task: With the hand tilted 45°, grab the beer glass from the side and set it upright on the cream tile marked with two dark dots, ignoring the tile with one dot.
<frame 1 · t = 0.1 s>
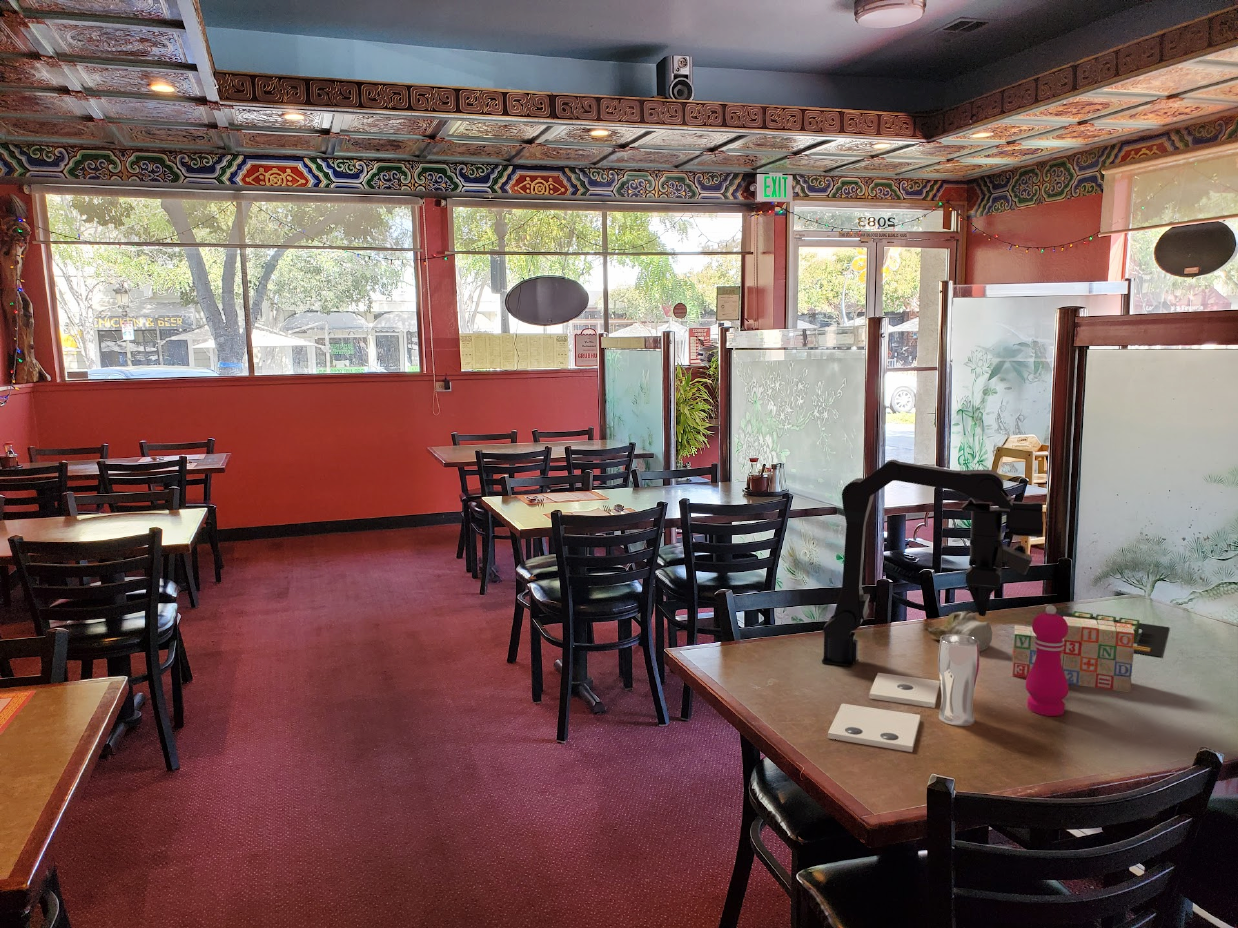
hand: (983, 609, 179), 15 cm above the table, fingers open, 9 cm apart
two-dot tile: (874, 728, 158), on the table
one-dot tile: (904, 691, 175), on the table
beer glass: (956, 720, 162), on the table
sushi: (1103, 636, 210), on the table
pepper mill: (1045, 710, 166), on the table
ceramic sculpture: (963, 645, 203), on the table
stack of blocks: (1069, 680, 181), on the table
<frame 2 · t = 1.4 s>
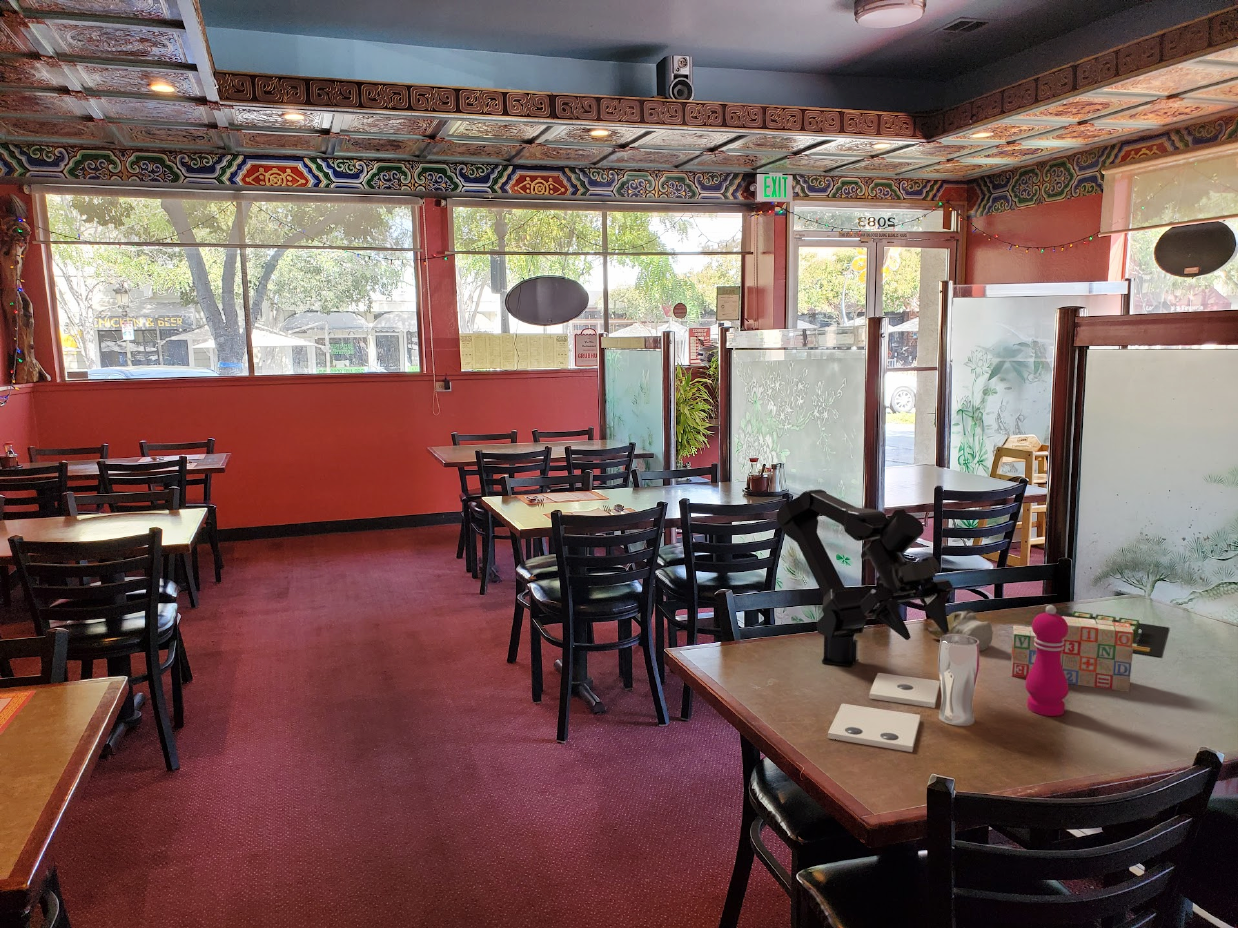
hand: (928, 635, 167), 13 cm above the table, fingers open, 9 cm apart
nothing on the table moved.
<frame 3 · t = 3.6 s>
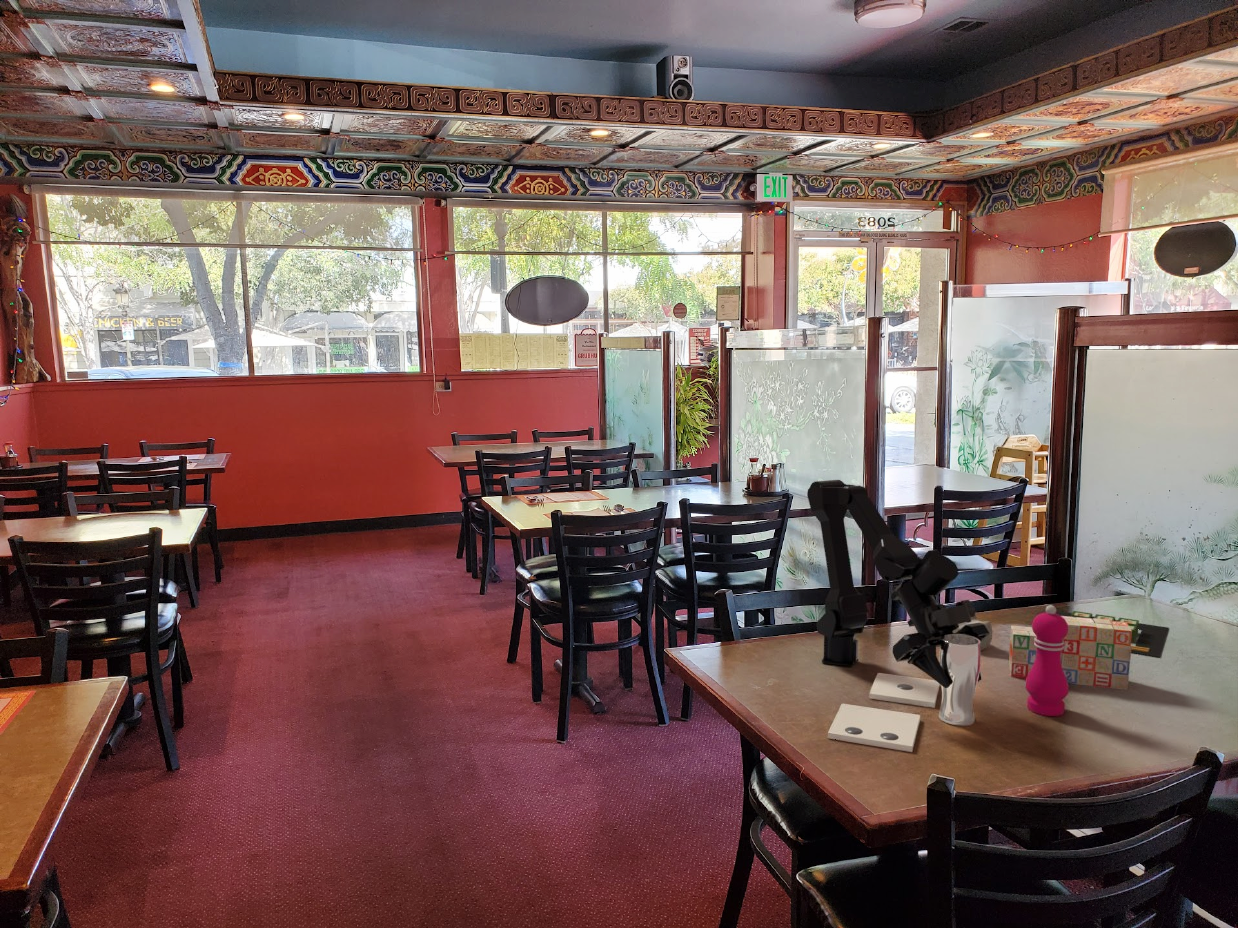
hand: (963, 683, 160), 7 cm above the table, fingers closed on beer glass, 7 cm apart
beer glass: (956, 719, 162), on the table, touching gripper
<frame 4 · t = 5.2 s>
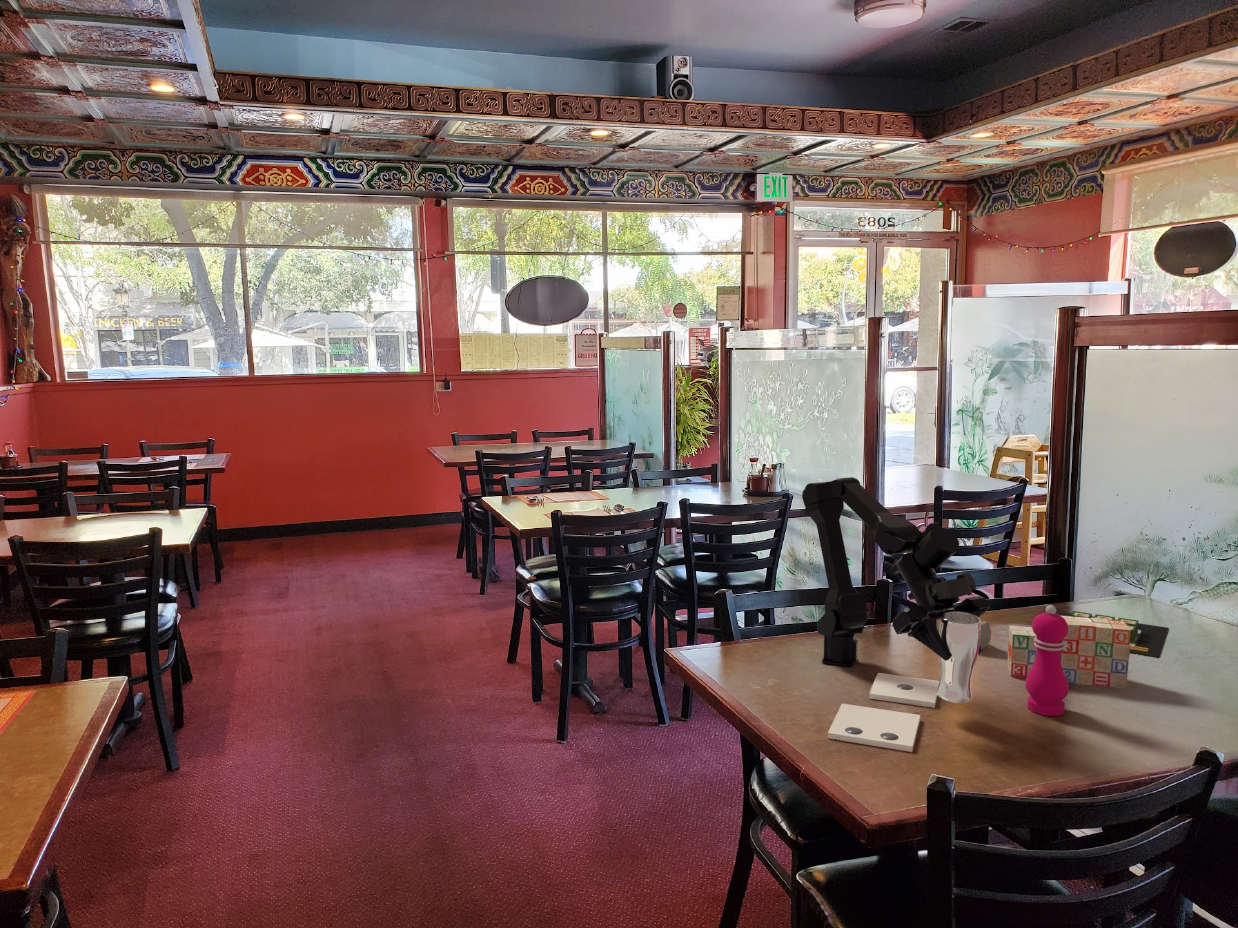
hand: (963, 656, 159), 12 cm above the table, fingers closed on beer glass, 7 cm apart
beer glass: (953, 696, 162), point 4 cm above the table, touching gripper
when the fingers open (9 cm above the table, at t = 7.5 s): beer glass stays where it is, resting on two-dot tile.
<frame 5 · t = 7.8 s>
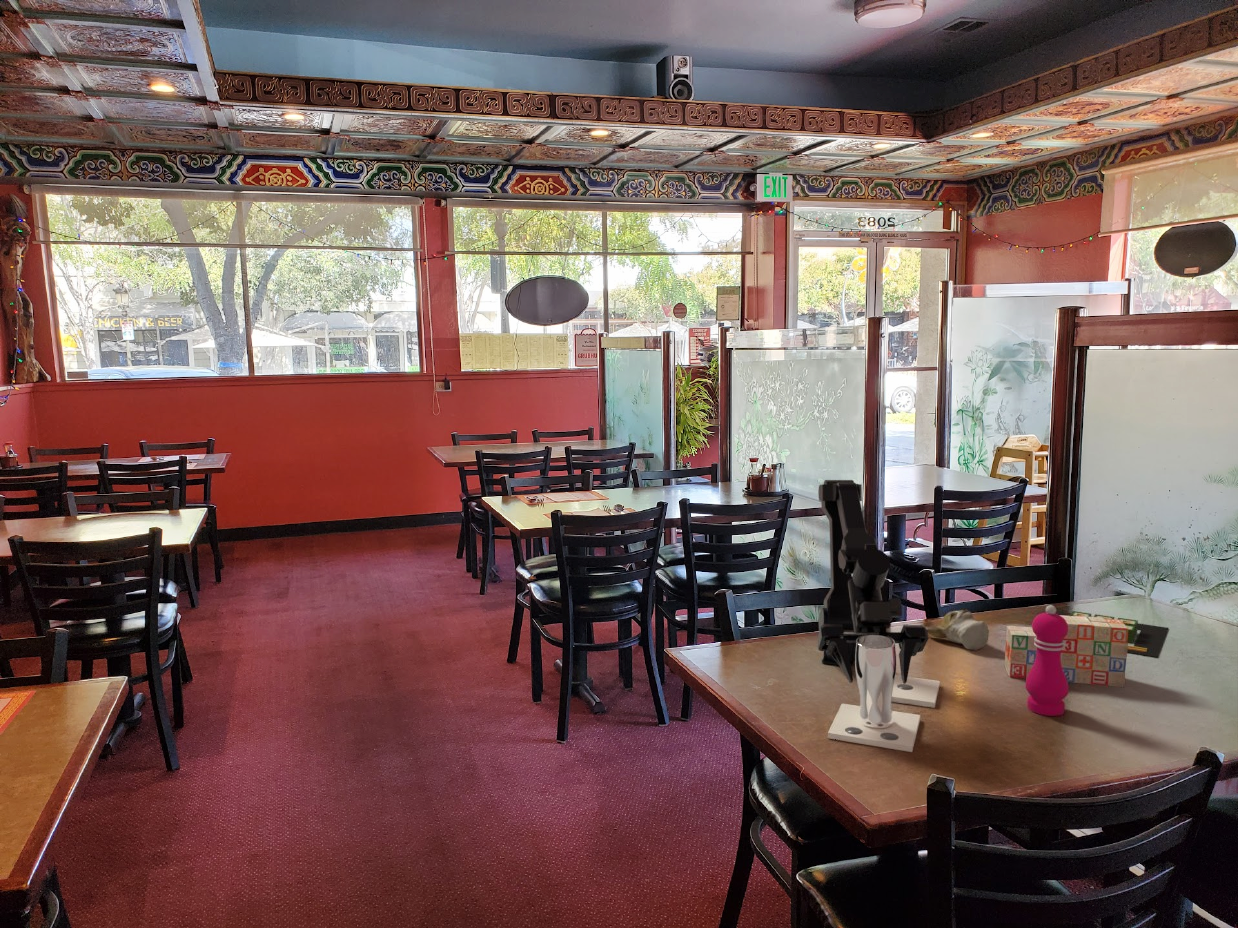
hand: (878, 682, 155), 9 cm above the table, fingers open, 9 cm apart
beer glass: (875, 721, 158), point 1 cm above the table, touching two-dot tile
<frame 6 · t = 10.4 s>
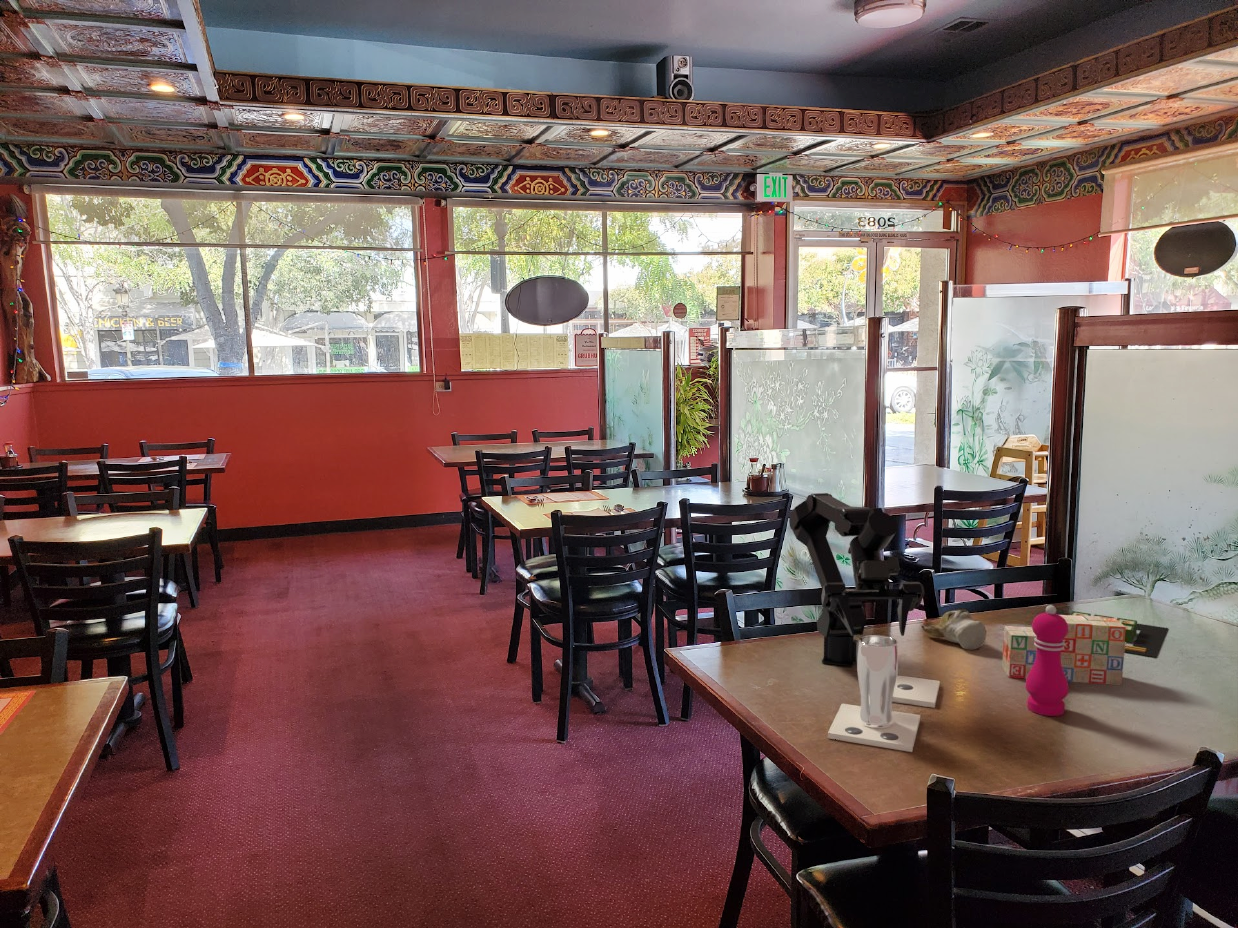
hand: (878, 634, 168), 13 cm above the table, fingers open, 9 cm apart
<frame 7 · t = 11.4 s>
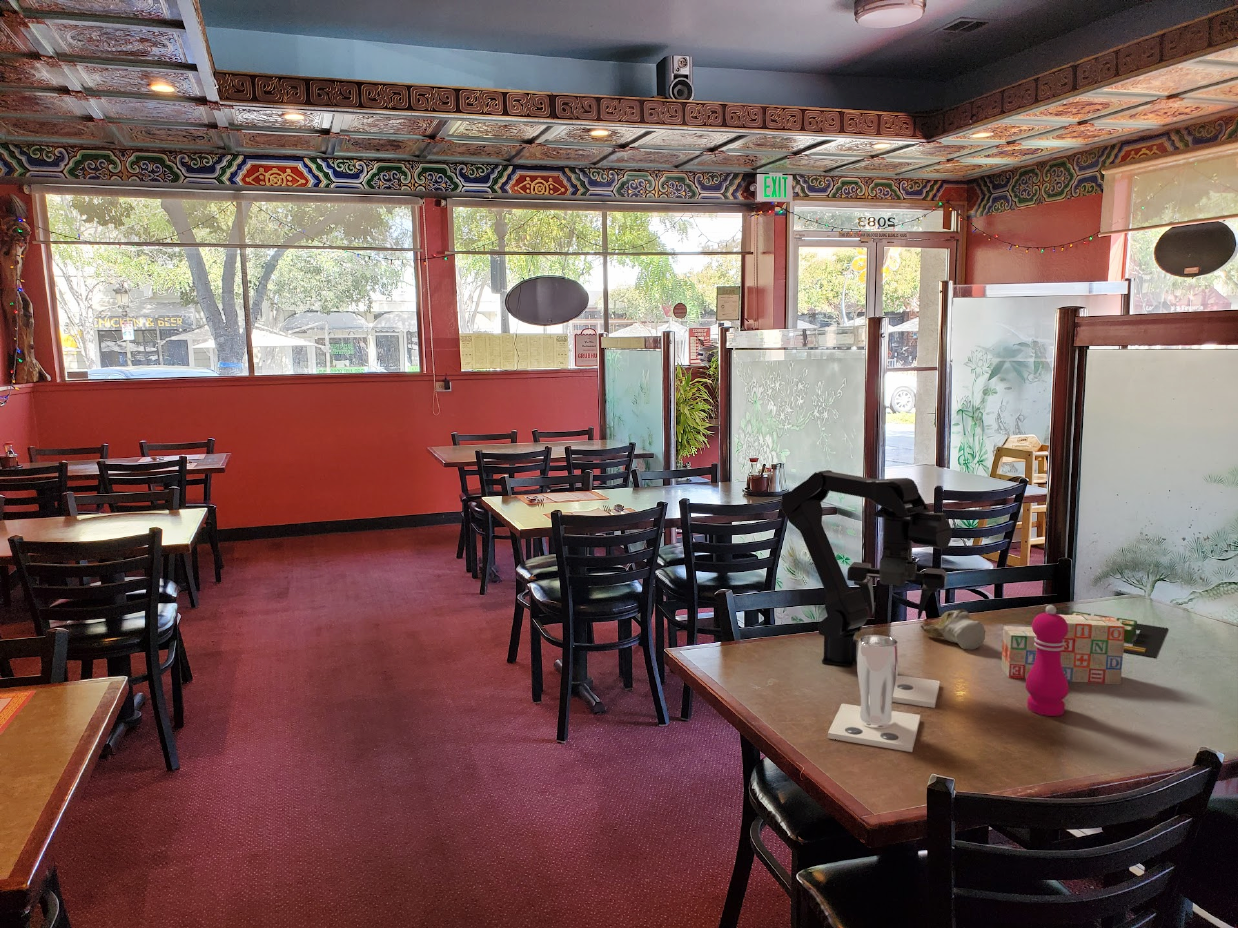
hand: (895, 616, 181), 13 cm above the table, fingers open, 9 cm apart
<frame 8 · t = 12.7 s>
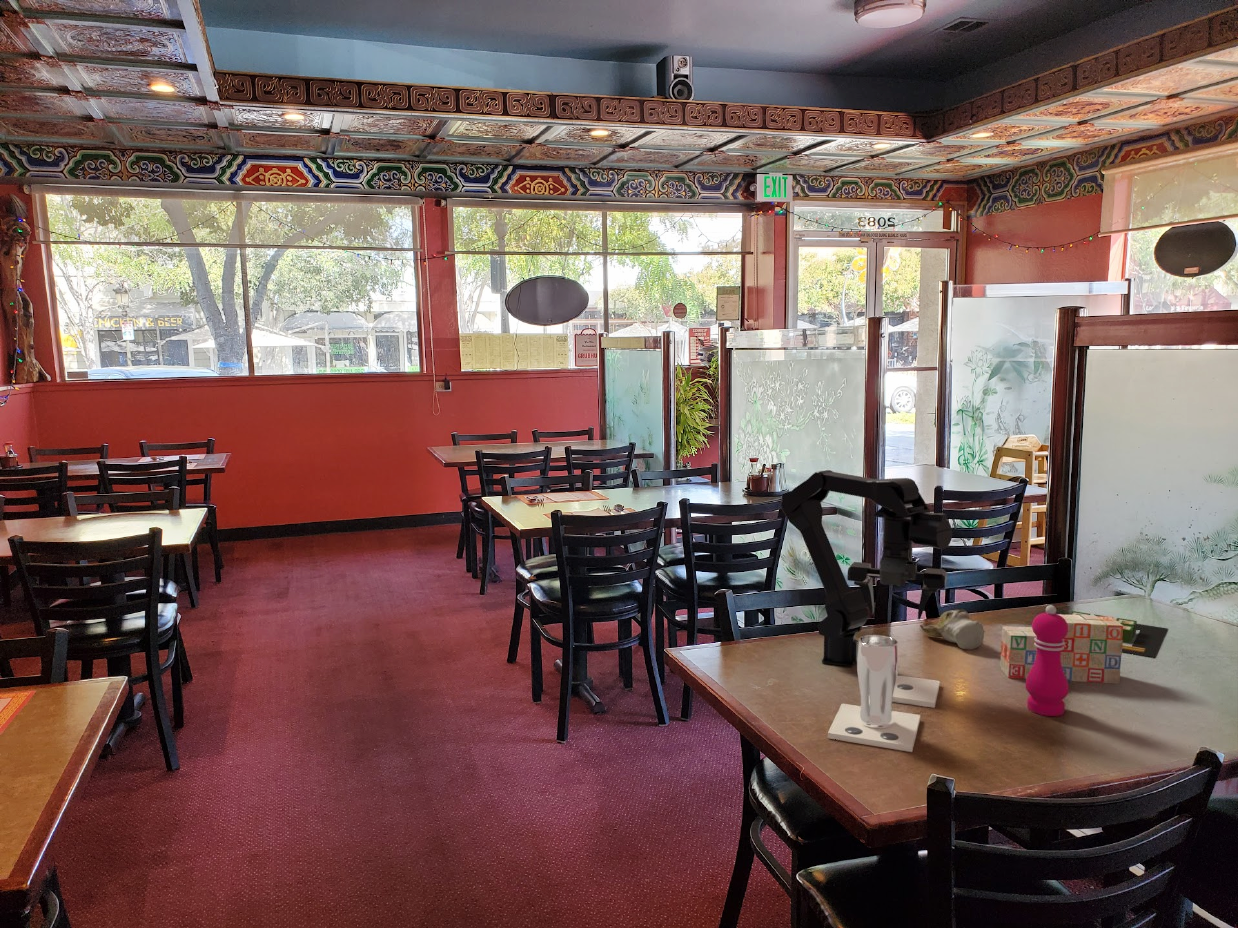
hand: (895, 616, 181), 13 cm above the table, fingers open, 9 cm apart
at the end: beer glass inside the target area on the two-dot tile (0.8 cm from its centre), point 0.8 cm above the two-dot tile's base; beer glass tilted 0°; the gripper is holding nothing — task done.
